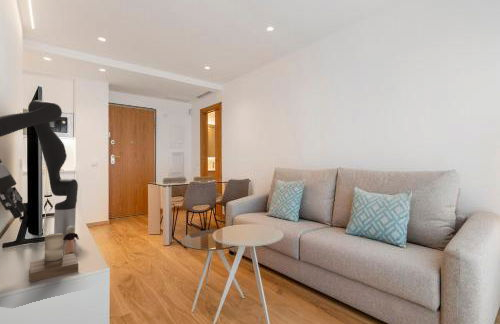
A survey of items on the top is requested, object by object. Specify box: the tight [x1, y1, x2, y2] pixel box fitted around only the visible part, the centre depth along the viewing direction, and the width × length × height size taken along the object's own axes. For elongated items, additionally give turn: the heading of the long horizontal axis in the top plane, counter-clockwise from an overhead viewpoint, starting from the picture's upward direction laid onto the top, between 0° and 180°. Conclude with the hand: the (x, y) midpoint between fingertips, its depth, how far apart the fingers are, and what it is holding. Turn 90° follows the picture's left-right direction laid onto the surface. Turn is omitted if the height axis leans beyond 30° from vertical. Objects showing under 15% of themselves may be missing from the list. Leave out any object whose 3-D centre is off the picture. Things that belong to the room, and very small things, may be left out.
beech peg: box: [44, 233, 64, 265], centre depth 96 cm, size 6×6×13 cm
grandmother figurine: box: [63, 226, 80, 255], centre depth 115 cm, size 8×4×13 cm, turn 168°
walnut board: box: [29, 253, 79, 283], centre depth 96 cm, size 14×14×3 cm
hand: (21, 214), depth 98 cm, fingers open, 8 cm apart
